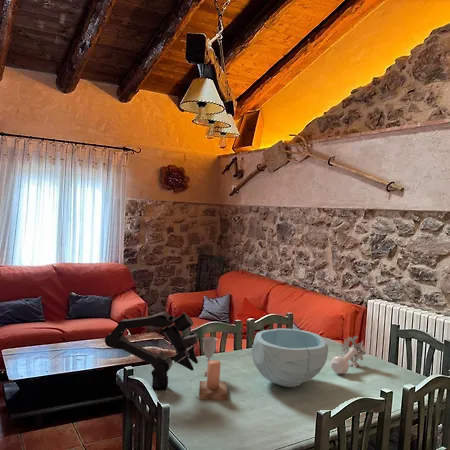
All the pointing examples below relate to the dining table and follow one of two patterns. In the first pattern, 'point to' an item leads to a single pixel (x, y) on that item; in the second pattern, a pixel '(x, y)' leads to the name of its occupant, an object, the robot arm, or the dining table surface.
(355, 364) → the flower vase
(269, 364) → the bowl
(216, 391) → the walnut plinth
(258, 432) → the dining table surface
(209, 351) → the chalice
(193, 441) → the dining table surface
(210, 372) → the terracotta cylinder
